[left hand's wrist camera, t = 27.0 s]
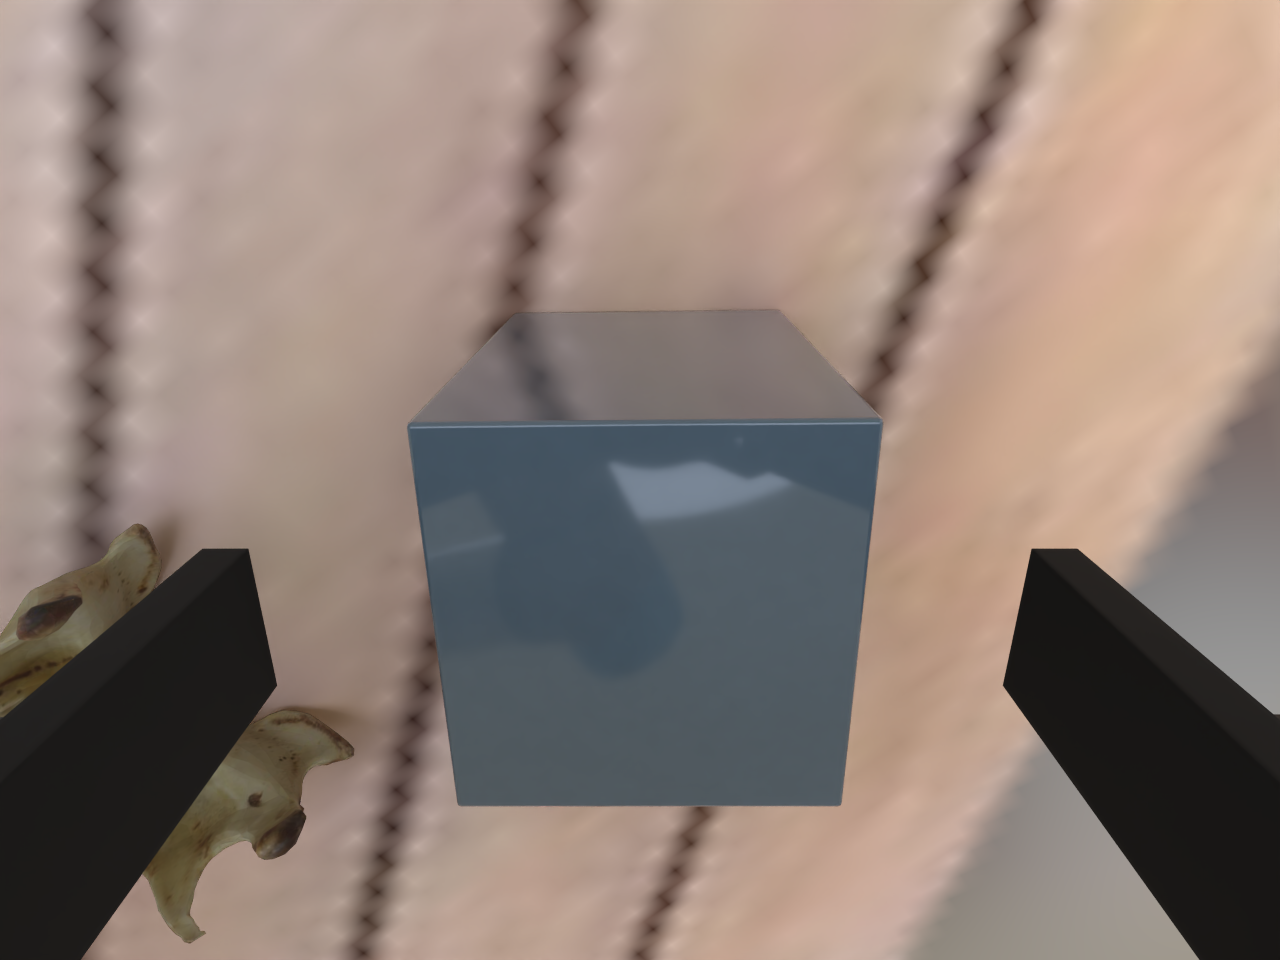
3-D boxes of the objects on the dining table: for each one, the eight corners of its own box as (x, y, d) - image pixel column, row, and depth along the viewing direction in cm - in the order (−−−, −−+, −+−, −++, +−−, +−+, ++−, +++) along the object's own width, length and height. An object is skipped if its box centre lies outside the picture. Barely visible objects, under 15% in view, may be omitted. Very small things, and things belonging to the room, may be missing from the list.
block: (532, 560, 23) (456, 808, 14) (514, 312, 20) (404, 423, 11) (767, 559, 22) (842, 808, 14) (780, 309, 20) (885, 418, 11)
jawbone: (-373, 860, 20) (-811, 1182, 12) (146, 495, 26) (113, 527, 17) (-73, 1039, 24) (-237, 1395, 15) (333, 682, 29) (387, 791, 20)
